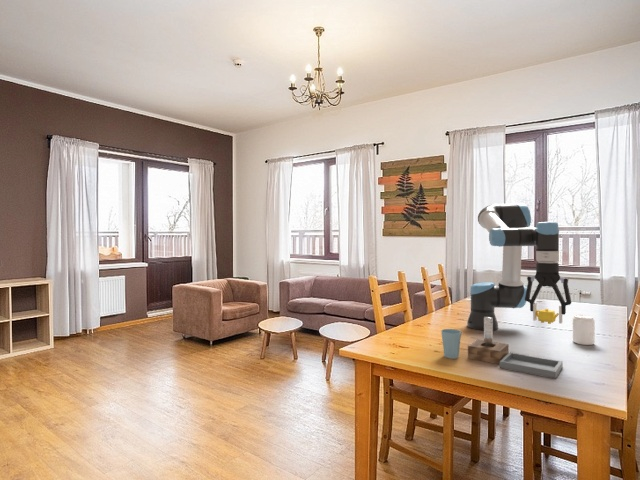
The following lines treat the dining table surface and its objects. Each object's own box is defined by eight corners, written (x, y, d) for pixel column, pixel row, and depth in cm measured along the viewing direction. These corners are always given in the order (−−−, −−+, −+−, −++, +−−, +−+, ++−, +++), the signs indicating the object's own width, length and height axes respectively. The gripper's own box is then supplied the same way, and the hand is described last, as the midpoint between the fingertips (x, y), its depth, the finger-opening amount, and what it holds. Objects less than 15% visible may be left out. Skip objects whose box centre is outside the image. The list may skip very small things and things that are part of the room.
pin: (482, 352, 157) (482, 317, 157) (485, 350, 160) (485, 316, 159) (491, 354, 155) (491, 318, 155) (493, 352, 158) (493, 317, 157)
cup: (439, 353, 163) (439, 328, 163) (458, 353, 163) (458, 328, 162) (443, 359, 156) (443, 333, 155) (463, 359, 155) (463, 333, 155)
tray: (499, 367, 145) (499, 361, 145) (509, 358, 156) (509, 352, 156) (555, 378, 134) (555, 371, 134) (562, 367, 145) (562, 361, 144)
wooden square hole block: (468, 358, 157) (468, 345, 157) (478, 351, 166) (478, 339, 166) (499, 364, 149) (499, 351, 149) (508, 356, 158) (508, 344, 158)
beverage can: (584, 346, 170) (584, 319, 170) (568, 341, 178) (568, 315, 178) (599, 344, 173) (599, 317, 172) (582, 340, 180) (582, 314, 180)
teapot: (561, 322, 150) (561, 309, 150) (557, 325, 146) (557, 311, 146) (538, 319, 156) (538, 306, 156) (534, 321, 152) (534, 308, 151)
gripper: (515, 261, 154) (515, 319, 154) (578, 263, 141) (578, 326, 141) (519, 260, 160) (520, 316, 160) (580, 262, 147) (581, 323, 147)
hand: (547, 321), depth 151 cm, fingers closed on teapot, 8 cm apart
